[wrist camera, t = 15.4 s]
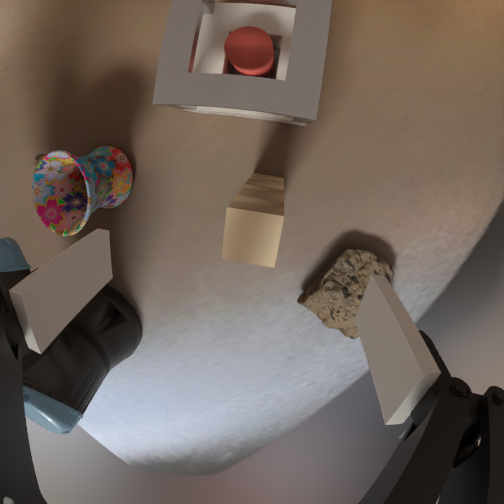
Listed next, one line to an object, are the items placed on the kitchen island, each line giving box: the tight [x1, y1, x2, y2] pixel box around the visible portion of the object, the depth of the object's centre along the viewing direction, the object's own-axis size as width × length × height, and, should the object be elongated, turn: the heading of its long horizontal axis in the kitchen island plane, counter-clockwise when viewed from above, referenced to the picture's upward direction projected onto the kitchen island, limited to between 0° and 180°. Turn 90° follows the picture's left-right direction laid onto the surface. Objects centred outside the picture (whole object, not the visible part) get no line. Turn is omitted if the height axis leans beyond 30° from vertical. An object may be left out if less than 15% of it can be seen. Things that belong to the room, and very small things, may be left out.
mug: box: [32, 145, 133, 236], centre depth 29 cm, size 12×9×11 cm
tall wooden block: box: [221, 173, 284, 268], centre depth 25 cm, size 4×4×16 cm
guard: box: [152, 0, 332, 124], centre depth 19 cm, size 12×12×6 cm
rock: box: [297, 249, 394, 339], centre depth 35 cm, size 11×12×4 cm
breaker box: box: [183, 3, 307, 126], centre depth 24 cm, size 12×12×6 cm
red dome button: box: [224, 26, 275, 78], centre depth 22 cm, size 4×4×8 cm
